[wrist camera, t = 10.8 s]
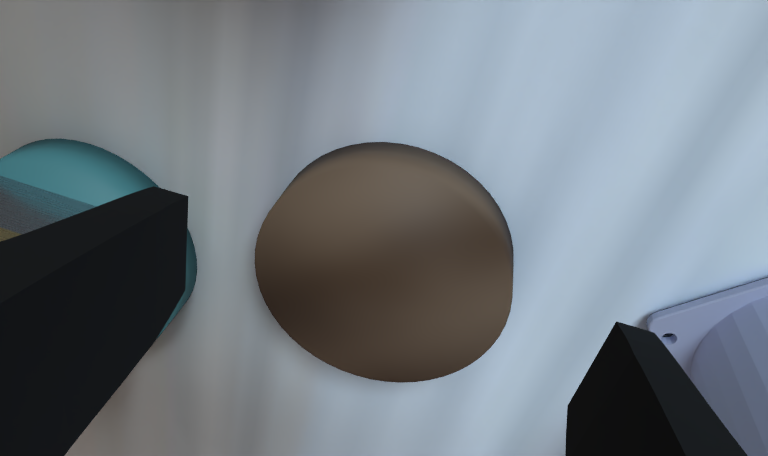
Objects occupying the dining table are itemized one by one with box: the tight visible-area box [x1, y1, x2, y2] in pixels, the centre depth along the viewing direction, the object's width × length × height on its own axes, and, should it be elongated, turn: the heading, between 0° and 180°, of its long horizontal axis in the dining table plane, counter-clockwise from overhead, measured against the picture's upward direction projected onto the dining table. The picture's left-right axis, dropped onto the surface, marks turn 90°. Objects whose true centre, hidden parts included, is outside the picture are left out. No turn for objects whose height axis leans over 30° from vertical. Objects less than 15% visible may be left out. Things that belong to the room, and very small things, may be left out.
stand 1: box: [0, 139, 197, 338], centre depth 24 cm, size 9×9×2 cm
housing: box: [0, 176, 97, 242], centre depth 21 cm, size 7×4×5 cm, turn 166°
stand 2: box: [255, 142, 513, 382], centre depth 21 cm, size 9×9×2 cm
